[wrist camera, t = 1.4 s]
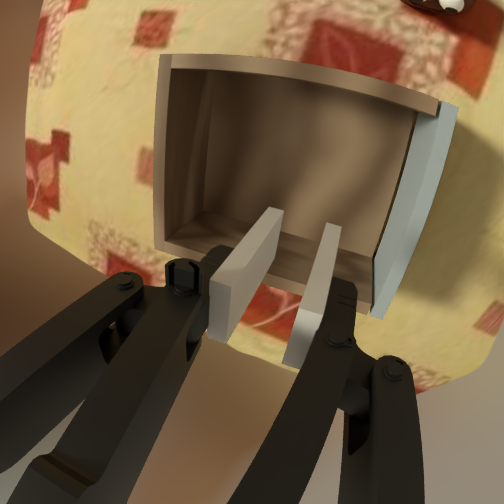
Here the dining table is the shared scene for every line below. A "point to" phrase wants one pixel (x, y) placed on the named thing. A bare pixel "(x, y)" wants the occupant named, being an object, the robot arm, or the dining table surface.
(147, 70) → the dining table surface
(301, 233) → the box
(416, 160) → the door
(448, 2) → the poop emoji
